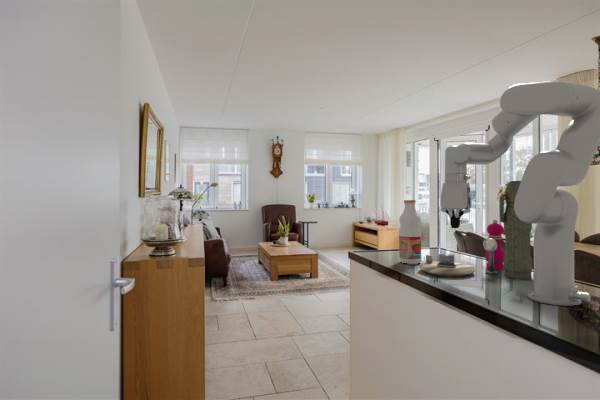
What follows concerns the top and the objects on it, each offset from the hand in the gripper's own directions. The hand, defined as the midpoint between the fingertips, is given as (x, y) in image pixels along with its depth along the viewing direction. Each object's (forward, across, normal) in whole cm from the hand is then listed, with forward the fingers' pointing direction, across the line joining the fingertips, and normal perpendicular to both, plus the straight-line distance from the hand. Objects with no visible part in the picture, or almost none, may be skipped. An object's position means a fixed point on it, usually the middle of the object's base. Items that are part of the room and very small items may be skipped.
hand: (455, 227), depth 138 cm
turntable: (+17, +4, -2) cm, 17 cm away
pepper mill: (+18, -6, -23) cm, 30 cm away
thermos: (+18, -18, -12) cm, 28 cm away
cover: (+15, +4, -2) cm, 16 cm away
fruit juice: (+18, +25, -11) cm, 33 cm away
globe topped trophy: (+18, -9, -12) cm, 23 cm away
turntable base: (+18, +4, -2) cm, 19 cm away
